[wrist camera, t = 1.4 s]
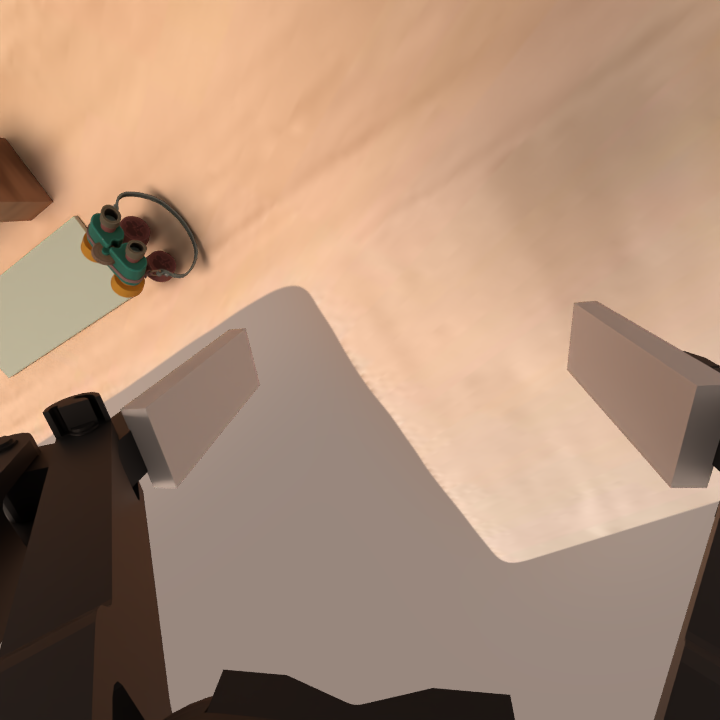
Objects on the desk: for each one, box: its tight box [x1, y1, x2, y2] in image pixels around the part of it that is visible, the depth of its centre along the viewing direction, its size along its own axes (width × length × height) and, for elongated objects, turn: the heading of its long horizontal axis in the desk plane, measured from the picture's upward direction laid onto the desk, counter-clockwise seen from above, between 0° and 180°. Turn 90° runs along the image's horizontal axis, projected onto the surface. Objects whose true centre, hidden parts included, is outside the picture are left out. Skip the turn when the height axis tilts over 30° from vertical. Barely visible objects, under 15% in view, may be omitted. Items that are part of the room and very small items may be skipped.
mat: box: [0, 216, 131, 378], centre depth 46 cm, size 10×25×1 cm, turn 119°
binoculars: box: [81, 192, 198, 298], centre depth 37 cm, size 9×9×10 cm
